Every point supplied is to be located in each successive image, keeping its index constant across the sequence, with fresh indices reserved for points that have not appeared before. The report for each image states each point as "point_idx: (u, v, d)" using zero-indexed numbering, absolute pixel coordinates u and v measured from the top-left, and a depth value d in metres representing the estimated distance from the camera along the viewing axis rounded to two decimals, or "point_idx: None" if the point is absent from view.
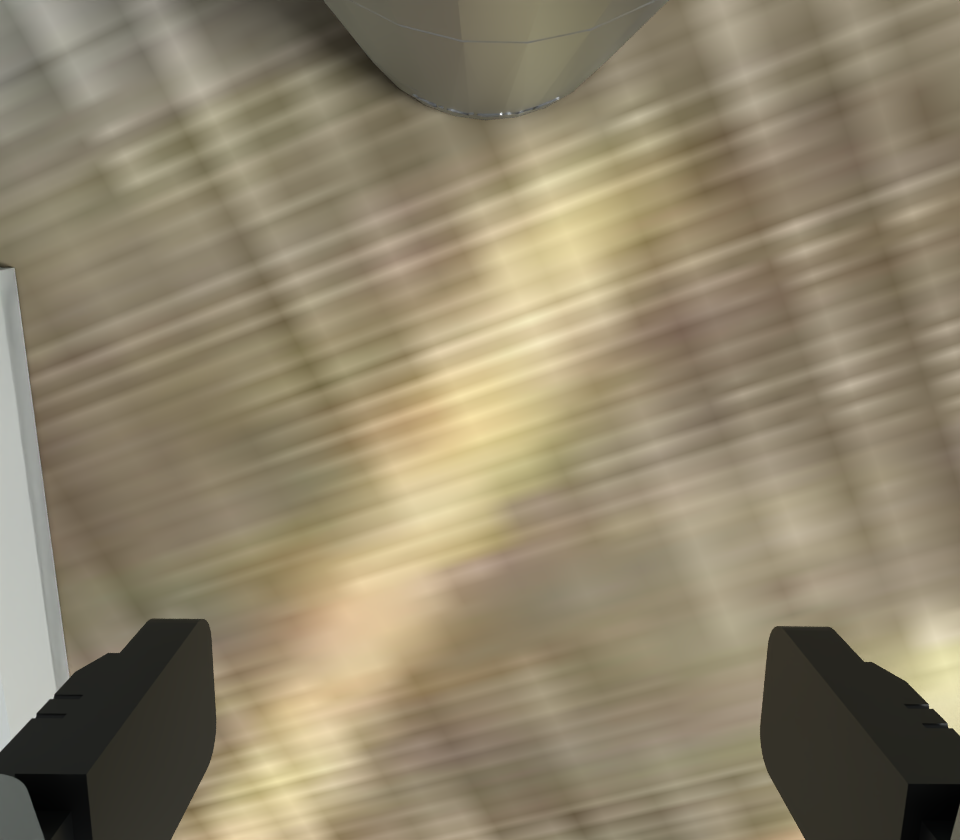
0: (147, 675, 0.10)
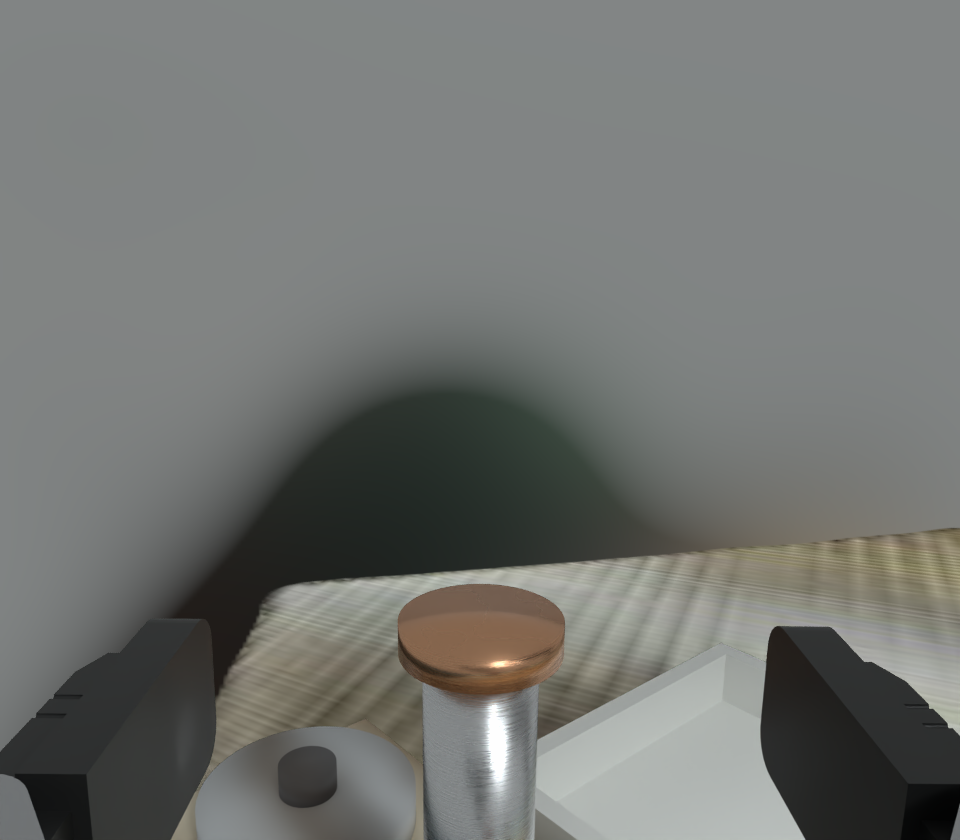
0: (147, 675, 0.10)
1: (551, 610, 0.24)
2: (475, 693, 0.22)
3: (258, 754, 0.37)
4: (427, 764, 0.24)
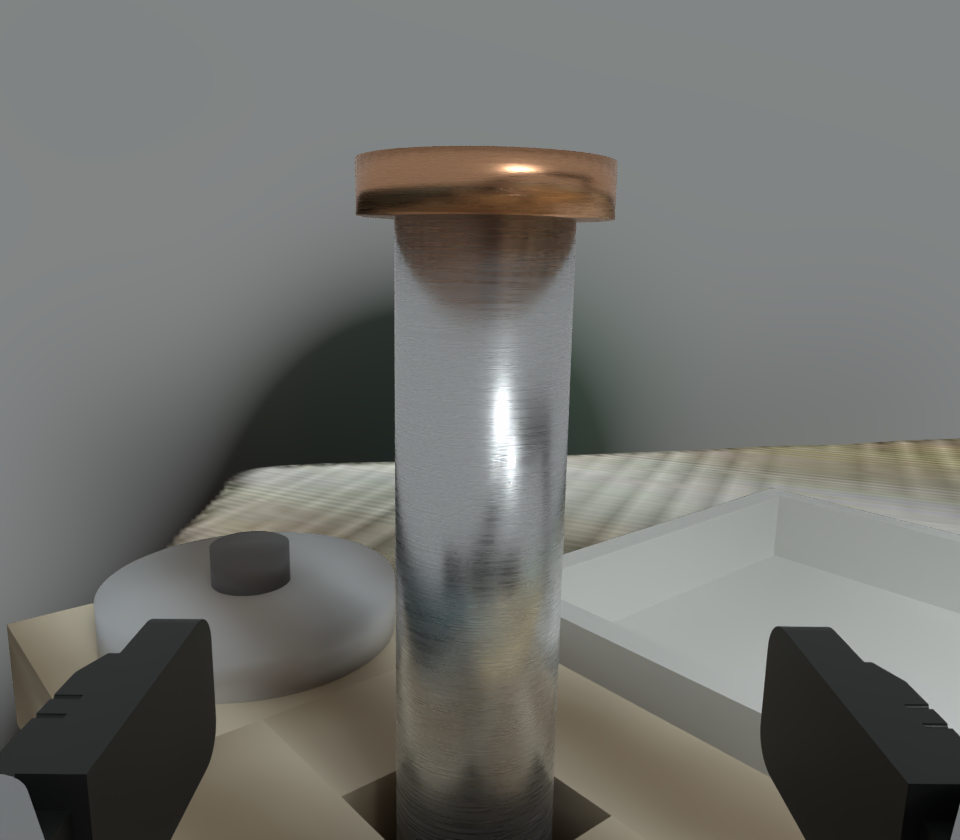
0: (147, 675, 0.10)
1: None
2: (477, 212, 0.13)
3: (191, 552, 0.28)
4: (400, 394, 0.15)
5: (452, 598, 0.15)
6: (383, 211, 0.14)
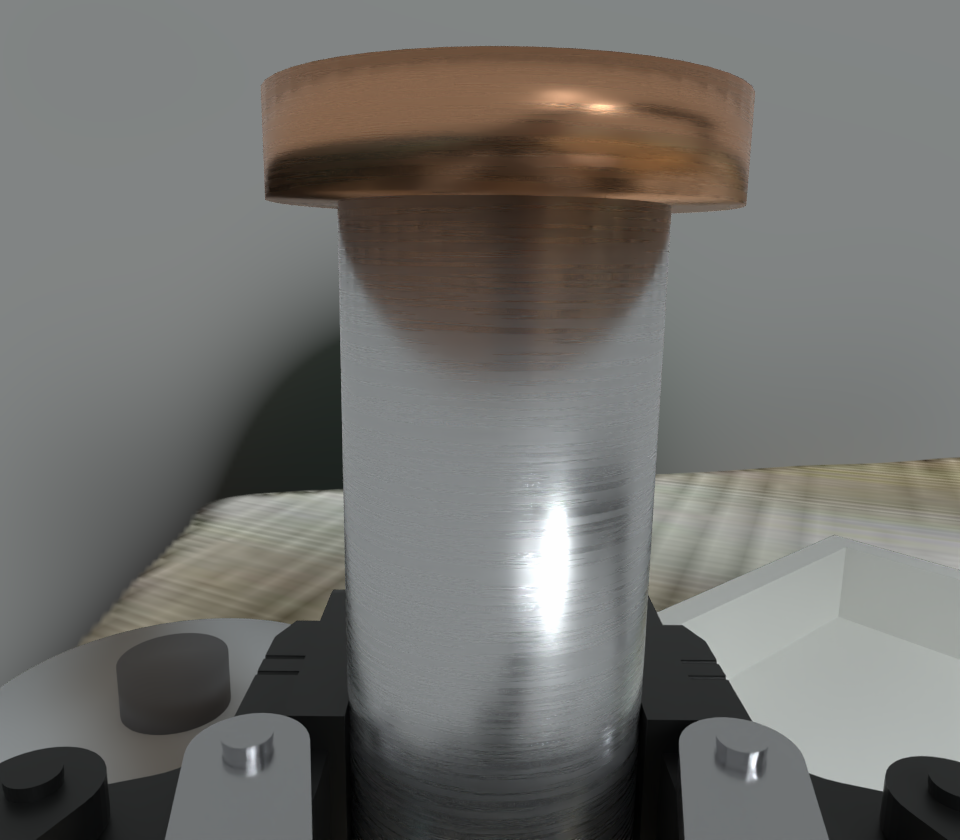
0: None
1: None
2: (495, 189, 0.06)
3: (104, 654, 0.21)
4: (351, 525, 0.08)
5: None
6: (305, 190, 0.07)
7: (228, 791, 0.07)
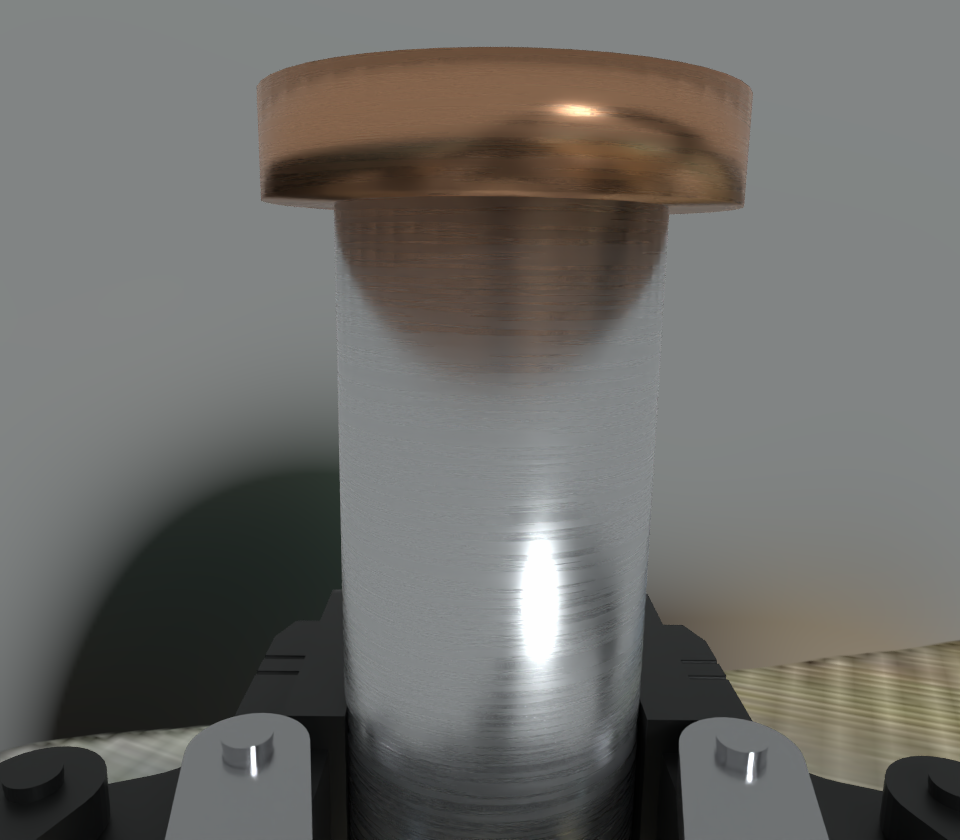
0: None
1: None
2: (491, 191, 0.06)
3: None
4: (348, 527, 0.08)
5: None
6: (300, 192, 0.07)
7: (228, 791, 0.07)
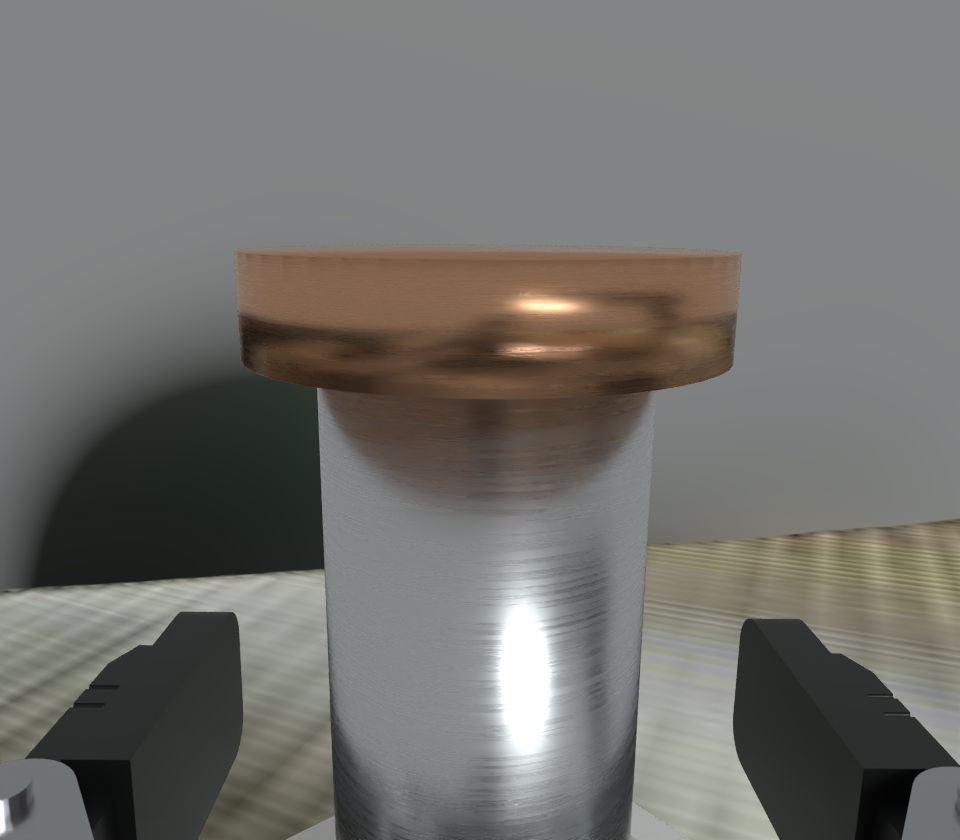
0: (181, 665, 0.10)
1: (683, 249, 0.09)
2: (470, 397, 0.06)
3: None
4: (335, 677, 0.08)
5: None
6: (278, 377, 0.07)
7: None
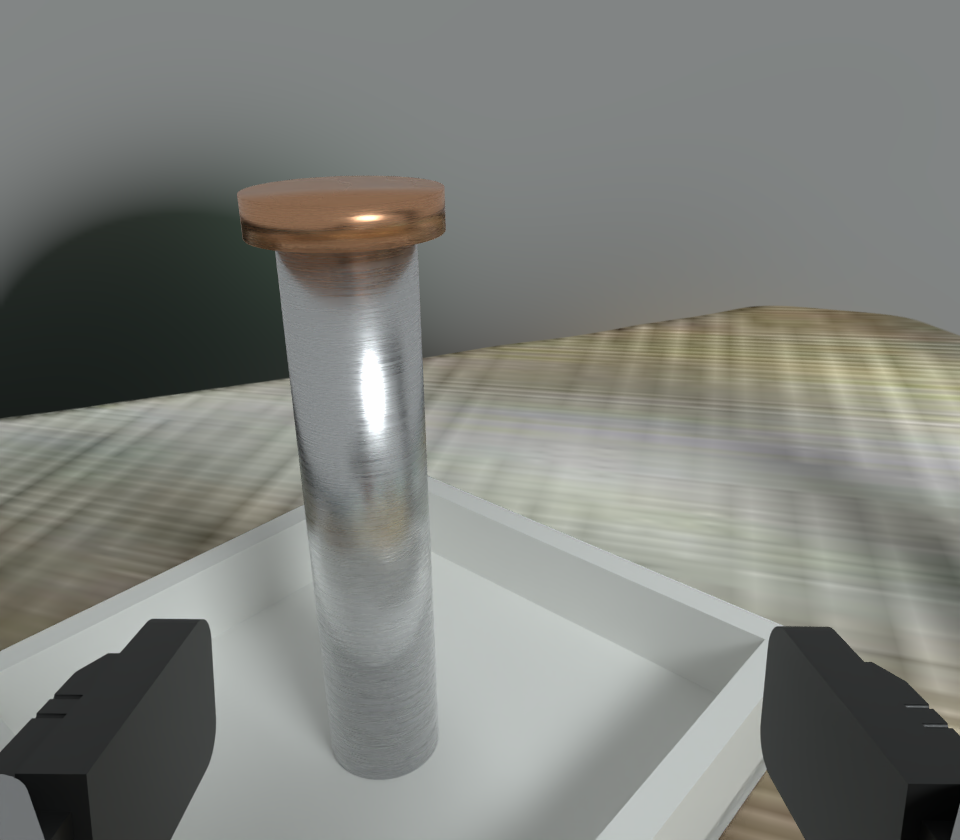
0: (147, 675, 0.10)
1: (428, 182, 0.20)
2: (338, 252, 0.18)
3: None
4: (293, 373, 0.20)
5: (347, 516, 0.21)
6: (266, 248, 0.18)
7: None
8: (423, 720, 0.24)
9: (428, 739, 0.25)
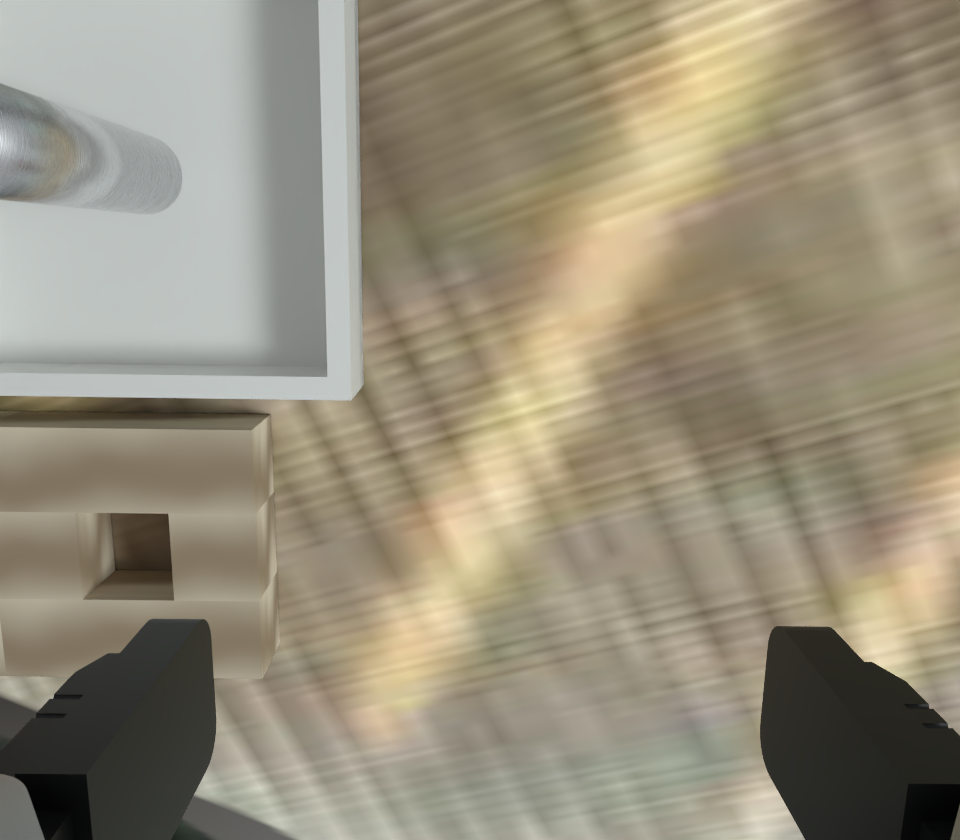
0: (147, 675, 0.10)
1: None
2: None
3: None
4: None
5: (70, 196, 0.28)
6: None
7: None
8: (169, 168, 0.35)
9: (175, 166, 0.35)
